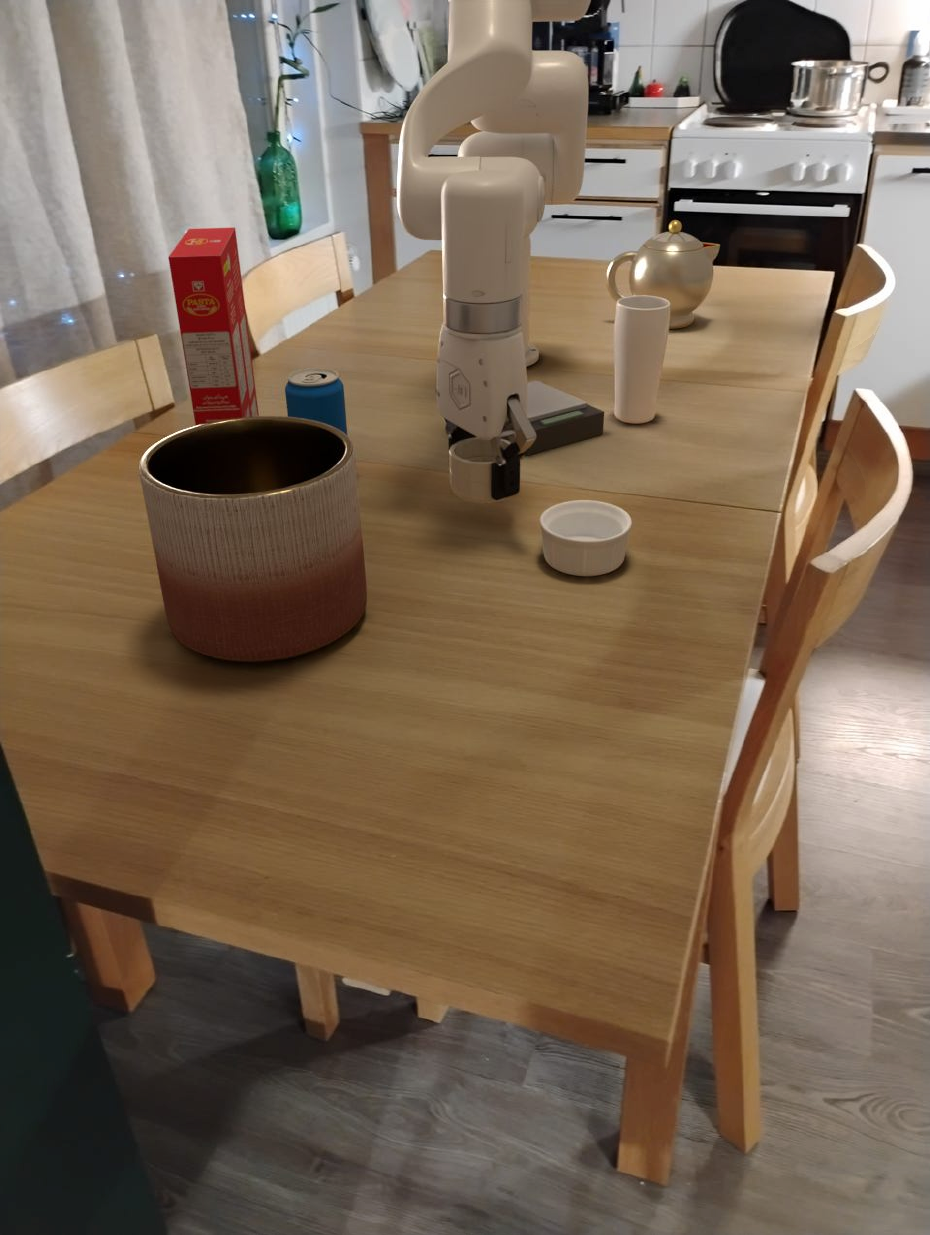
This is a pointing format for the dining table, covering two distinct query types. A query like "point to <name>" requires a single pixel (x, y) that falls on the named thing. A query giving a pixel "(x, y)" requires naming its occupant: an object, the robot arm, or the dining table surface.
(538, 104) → the robot arm
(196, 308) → the food packaging
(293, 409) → the beverage can
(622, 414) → the drinking glass
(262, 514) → the planter
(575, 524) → the ramekin
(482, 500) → the bowl
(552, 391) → the scale
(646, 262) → the teapot
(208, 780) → the dining table surface
